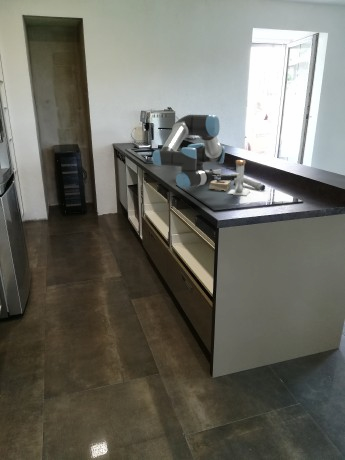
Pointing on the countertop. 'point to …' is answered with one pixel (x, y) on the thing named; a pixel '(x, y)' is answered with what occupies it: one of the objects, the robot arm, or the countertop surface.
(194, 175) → the robot arm
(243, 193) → the rubber mat
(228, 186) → the bore block
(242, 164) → the steel plug
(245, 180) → the toothbrush head
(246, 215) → the countertop surface
